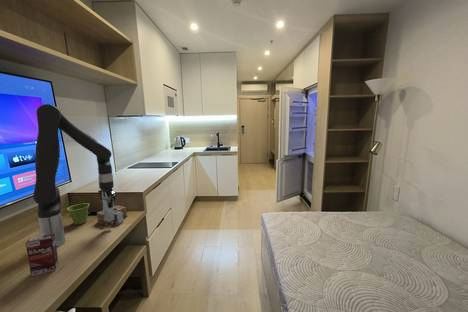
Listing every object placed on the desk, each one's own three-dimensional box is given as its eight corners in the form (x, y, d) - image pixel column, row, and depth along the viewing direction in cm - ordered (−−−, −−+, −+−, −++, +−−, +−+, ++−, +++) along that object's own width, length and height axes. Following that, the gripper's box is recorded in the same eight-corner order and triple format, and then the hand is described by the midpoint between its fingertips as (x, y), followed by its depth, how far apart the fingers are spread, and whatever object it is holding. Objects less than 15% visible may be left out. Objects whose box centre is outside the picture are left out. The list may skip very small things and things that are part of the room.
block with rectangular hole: (107, 225, 131) (106, 215, 130) (98, 222, 135) (96, 212, 134) (126, 216, 144) (126, 207, 143) (117, 214, 148) (116, 205, 147)
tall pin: (108, 222, 124) (106, 200, 122) (104, 220, 126) (102, 199, 124) (114, 219, 128) (112, 198, 126) (110, 218, 129) (108, 197, 127)
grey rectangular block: (118, 224, 132) (117, 214, 131) (114, 223, 134) (112, 213, 133) (123, 221, 136) (122, 212, 135) (119, 220, 138) (118, 211, 136)
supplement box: (30, 277, 87) (24, 243, 84) (35, 270, 91) (29, 237, 88) (56, 270, 91) (51, 237, 88) (59, 264, 95) (54, 232, 92)
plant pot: (94, 217, 142) (93, 202, 140) (85, 226, 130) (82, 209, 129) (76, 219, 140) (74, 203, 139) (64, 227, 129) (62, 210, 127)
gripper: (92, 180, 123) (94, 207, 125) (107, 183, 117) (110, 211, 119) (104, 177, 129) (106, 203, 132) (119, 180, 124) (121, 206, 126)
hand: (108, 206), depth 126 cm, fingers closed on tall pin, 4 cm apart
